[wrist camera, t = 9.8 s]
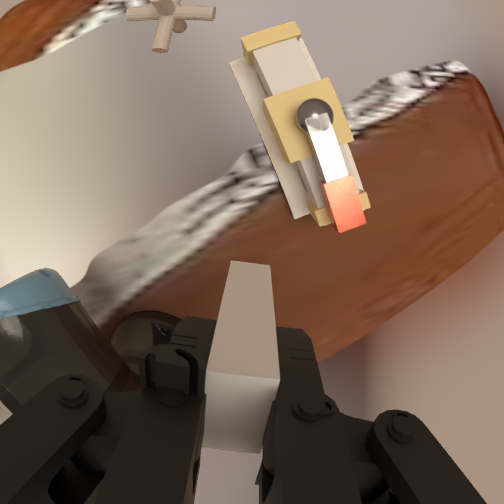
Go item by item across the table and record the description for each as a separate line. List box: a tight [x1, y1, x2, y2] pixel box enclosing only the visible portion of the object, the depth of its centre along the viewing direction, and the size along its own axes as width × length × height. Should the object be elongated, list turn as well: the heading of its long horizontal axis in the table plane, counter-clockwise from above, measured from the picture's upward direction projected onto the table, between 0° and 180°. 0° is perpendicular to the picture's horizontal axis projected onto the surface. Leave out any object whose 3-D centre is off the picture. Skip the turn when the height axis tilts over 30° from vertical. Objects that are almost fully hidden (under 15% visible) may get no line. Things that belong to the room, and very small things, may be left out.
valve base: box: [229, 21, 371, 227], centre depth 30 cm, size 9×20×10 cm, turn 22°
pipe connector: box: [126, 0, 216, 53], centre depth 26 cm, size 10×10×10 cm
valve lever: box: [295, 98, 366, 233], centre depth 26 cm, size 12×3×2 cm, turn 21°
